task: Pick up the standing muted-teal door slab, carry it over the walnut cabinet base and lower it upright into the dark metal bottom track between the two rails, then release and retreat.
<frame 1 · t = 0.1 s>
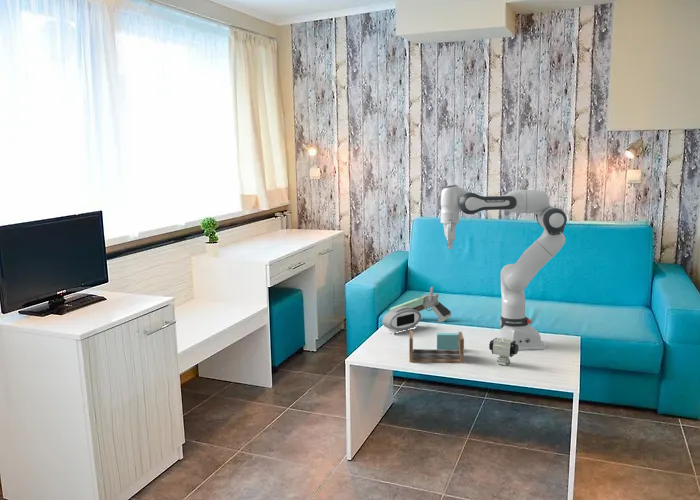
hand: (449, 247, 287), 48 cm above the table, fingers open, 8 cm apart
ray gun: (420, 321, 340), on the table
alarm clock: (402, 331, 319), on the table
door panel: (447, 350, 284), on the table
pneumatic valve: (503, 365, 262), on the table
cabinet base: (435, 358, 272), on the table
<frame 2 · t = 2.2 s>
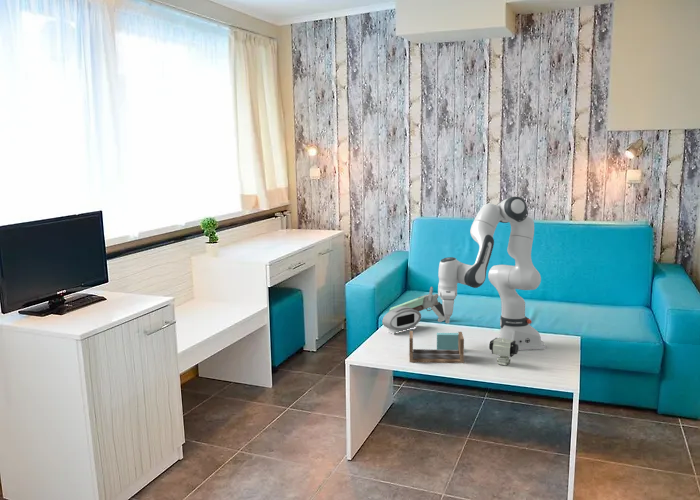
hand: (446, 320, 282), 14 cm above the table, fingers open, 8 cm apart
nothing on the table moved.
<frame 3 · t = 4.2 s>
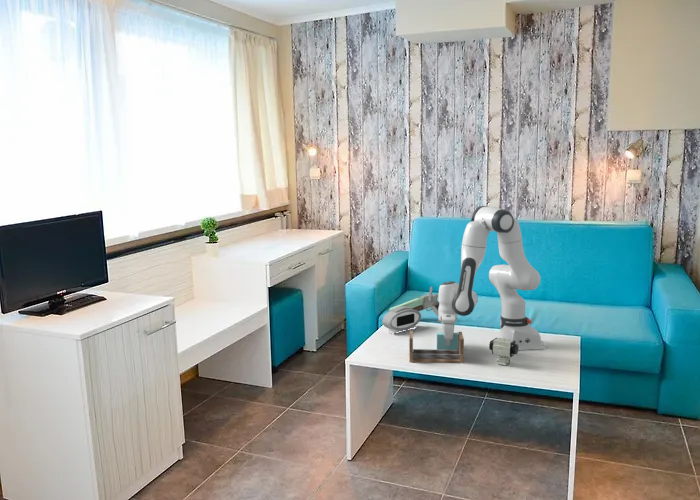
hand: (447, 343, 284), 3 cm above the table, fingers closed on door panel, 3 cm apart
door panel: (447, 349, 284), on the table, touching gripper
everything else where it was.
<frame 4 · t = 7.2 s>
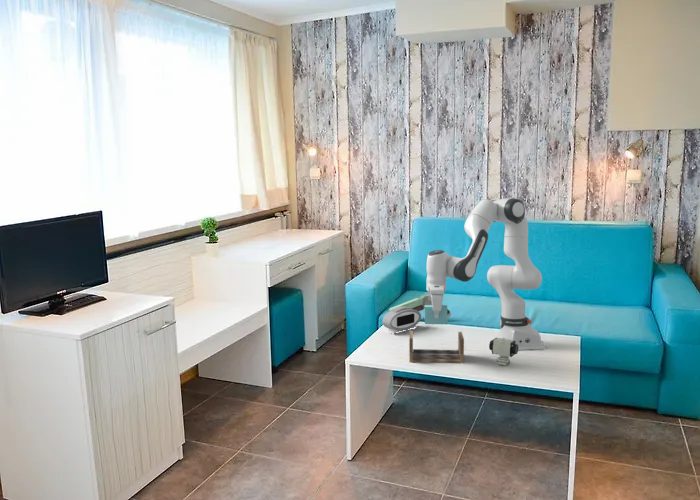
hand: (436, 316, 269), 20 cm above the table, fingers closed on door panel, 3 cm apart
door panel: (435, 323, 270), point 16 cm above the table, touching gripper
everything else where it was.
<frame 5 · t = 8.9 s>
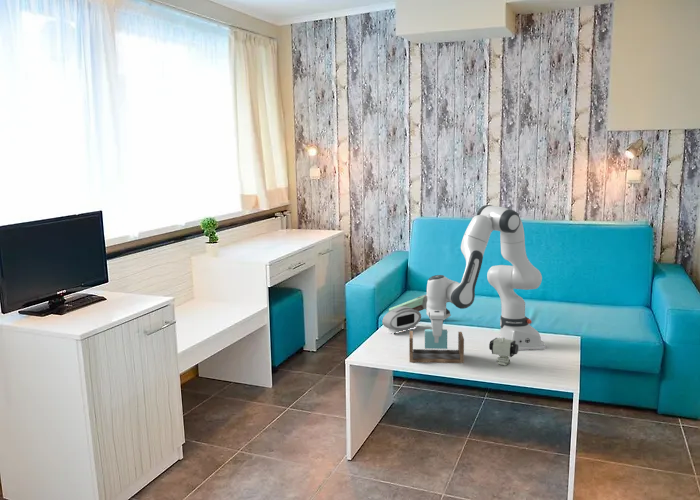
hand: (436, 340, 271), 8 cm above the table, fingers closed on door panel, 3 cm apart
door panel: (435, 347, 271), point 5 cm above the table, touching gripper
everything else where it was.
when the fingers open (6 cm above the table, at t = 10.3 s): door panel drops 1 cm, resting on cabinet base.
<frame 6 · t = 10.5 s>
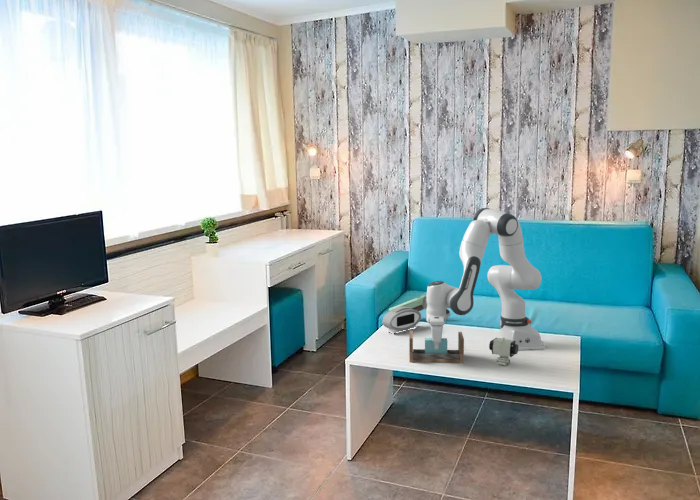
hand: (436, 346, 271), 6 cm above the table, fingers open, 5 cm apart
door panel: (435, 356, 272), point 1 cm above the table, touching cabinet base
everything else where it was.
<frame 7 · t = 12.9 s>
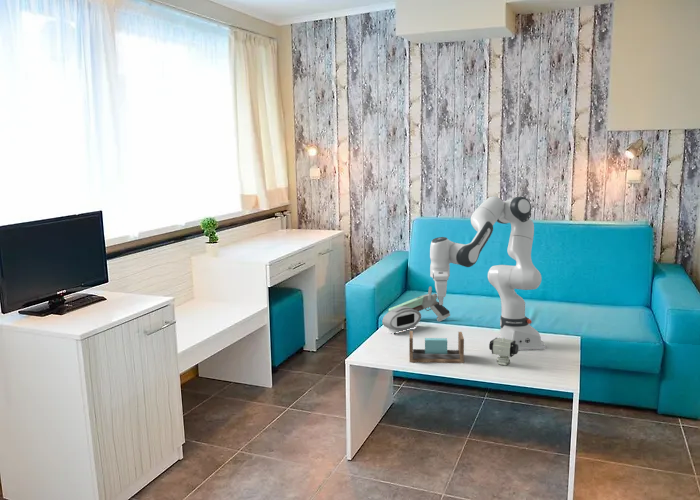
hand: (440, 301, 276), 25 cm above the table, fingers open, 8 cm apart
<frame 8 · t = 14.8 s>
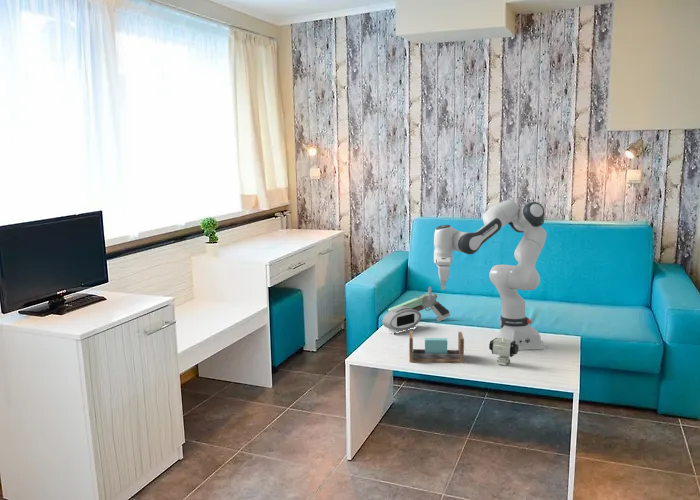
hand: (442, 287, 286), 29 cm above the table, fingers open, 8 cm apart
at the end: door panel inside the target area on the cabinet base (0.0 cm from its centre), point 1.0 cm above the cabinet base's base; door panel tilted 0°; the gripper is holding nothing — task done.
